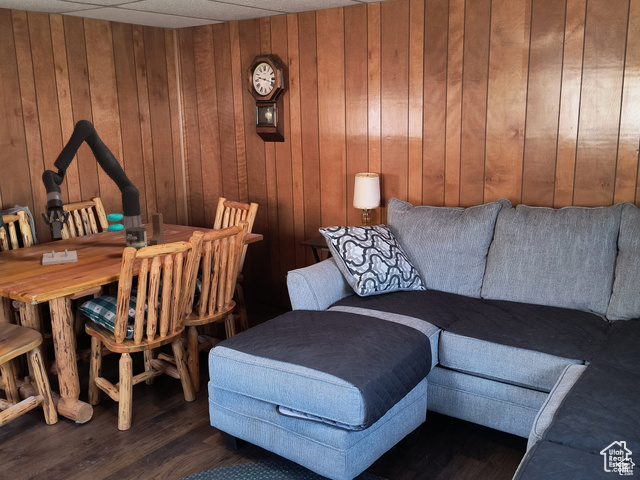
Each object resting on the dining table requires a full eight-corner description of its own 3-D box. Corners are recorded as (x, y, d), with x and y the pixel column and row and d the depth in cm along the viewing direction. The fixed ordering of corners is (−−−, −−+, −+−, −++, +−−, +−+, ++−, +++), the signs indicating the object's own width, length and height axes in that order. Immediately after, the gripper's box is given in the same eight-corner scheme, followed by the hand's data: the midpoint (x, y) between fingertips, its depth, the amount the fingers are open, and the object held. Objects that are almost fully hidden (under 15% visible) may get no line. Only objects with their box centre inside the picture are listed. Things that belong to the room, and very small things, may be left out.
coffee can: (139, 258, 307) (137, 231, 305) (123, 256, 311) (121, 230, 308) (152, 253, 317) (150, 227, 314) (136, 252, 321) (134, 226, 318)
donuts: (103, 214, 381) (117, 212, 388) (104, 230, 383) (119, 228, 390) (111, 216, 374) (125, 214, 381) (112, 232, 376) (127, 229, 384)
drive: (54, 236, 307) (52, 220, 306) (61, 235, 309) (60, 220, 307) (53, 238, 303) (52, 222, 301) (61, 237, 304) (60, 221, 302)
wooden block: (157, 248, 330) (155, 215, 327) (150, 247, 331) (147, 215, 327) (164, 244, 339) (162, 213, 335) (157, 244, 340) (155, 213, 336)
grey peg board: (43, 256, 314) (42, 248, 313) (76, 253, 320) (75, 245, 319) (42, 265, 296) (41, 256, 295) (77, 261, 302) (76, 252, 301)
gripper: (39, 199, 306) (40, 226, 297) (68, 197, 311) (71, 224, 303) (40, 208, 312) (42, 235, 303) (69, 206, 317) (72, 232, 309)
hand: (57, 229), depth 303 cm, fingers closed on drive, 3 cm apart
